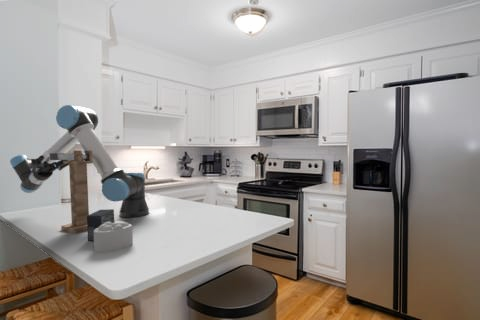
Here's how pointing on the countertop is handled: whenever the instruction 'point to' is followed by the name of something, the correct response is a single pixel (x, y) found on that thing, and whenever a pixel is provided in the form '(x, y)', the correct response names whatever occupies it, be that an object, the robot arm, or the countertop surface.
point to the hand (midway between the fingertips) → (62, 152)
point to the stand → (78, 192)
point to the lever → (66, 156)
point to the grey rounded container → (112, 236)
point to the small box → (98, 221)
